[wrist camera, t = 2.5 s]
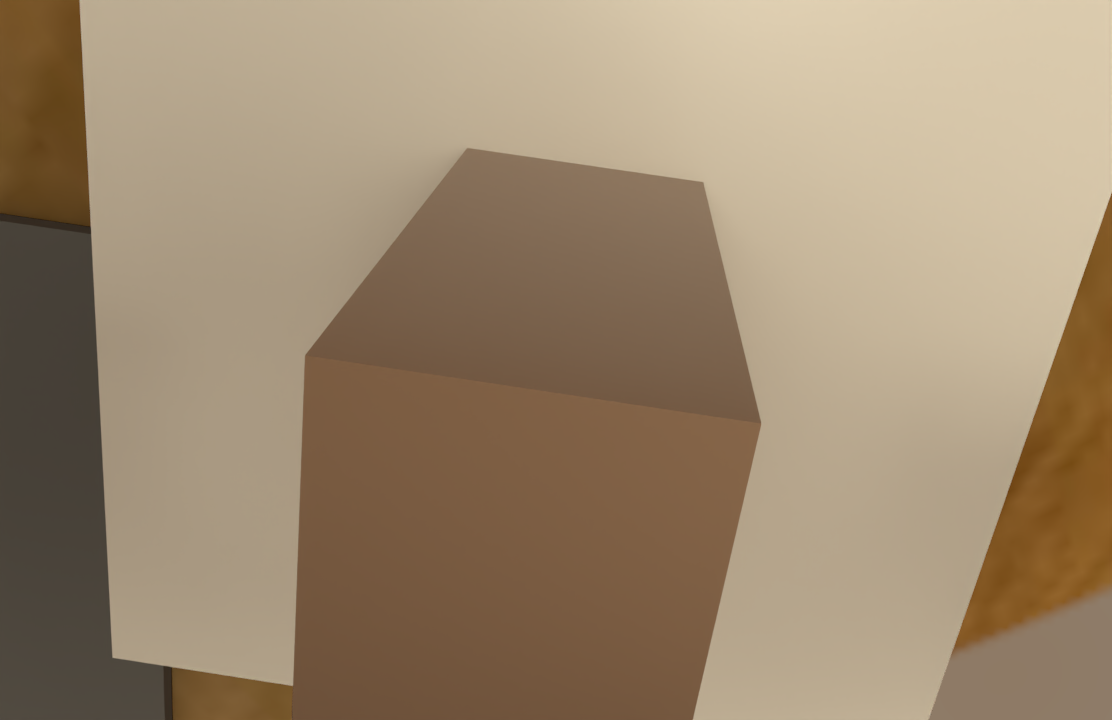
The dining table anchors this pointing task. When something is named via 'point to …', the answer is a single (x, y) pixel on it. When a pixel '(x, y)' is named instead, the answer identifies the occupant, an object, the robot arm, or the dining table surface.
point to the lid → (577, 340)
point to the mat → (57, 493)
